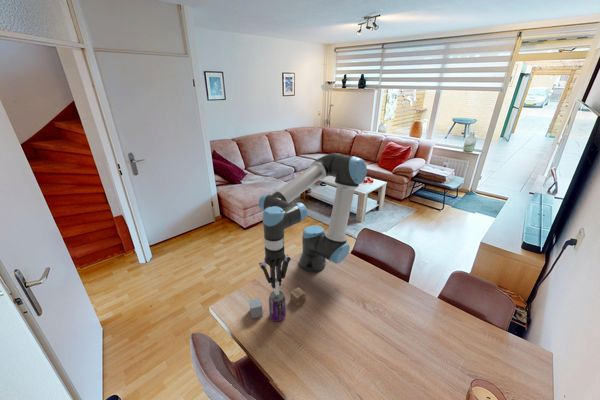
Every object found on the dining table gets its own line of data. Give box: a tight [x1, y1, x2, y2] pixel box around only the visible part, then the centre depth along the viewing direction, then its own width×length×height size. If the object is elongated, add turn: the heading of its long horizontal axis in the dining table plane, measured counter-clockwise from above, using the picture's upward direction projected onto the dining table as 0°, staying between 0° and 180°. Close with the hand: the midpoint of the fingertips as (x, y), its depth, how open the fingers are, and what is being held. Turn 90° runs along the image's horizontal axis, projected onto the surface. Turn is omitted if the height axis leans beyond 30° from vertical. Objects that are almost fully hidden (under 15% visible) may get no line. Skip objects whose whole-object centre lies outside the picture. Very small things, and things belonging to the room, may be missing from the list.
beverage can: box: [268, 290, 287, 322], centre depth 111 cm, size 7×7×12 cm
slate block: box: [248, 297, 264, 319], centre depth 114 cm, size 5×5×6 cm
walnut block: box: [289, 287, 306, 307], centre depth 121 cm, size 5×5×5 cm
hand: (276, 292), depth 108 cm, fingers closed
